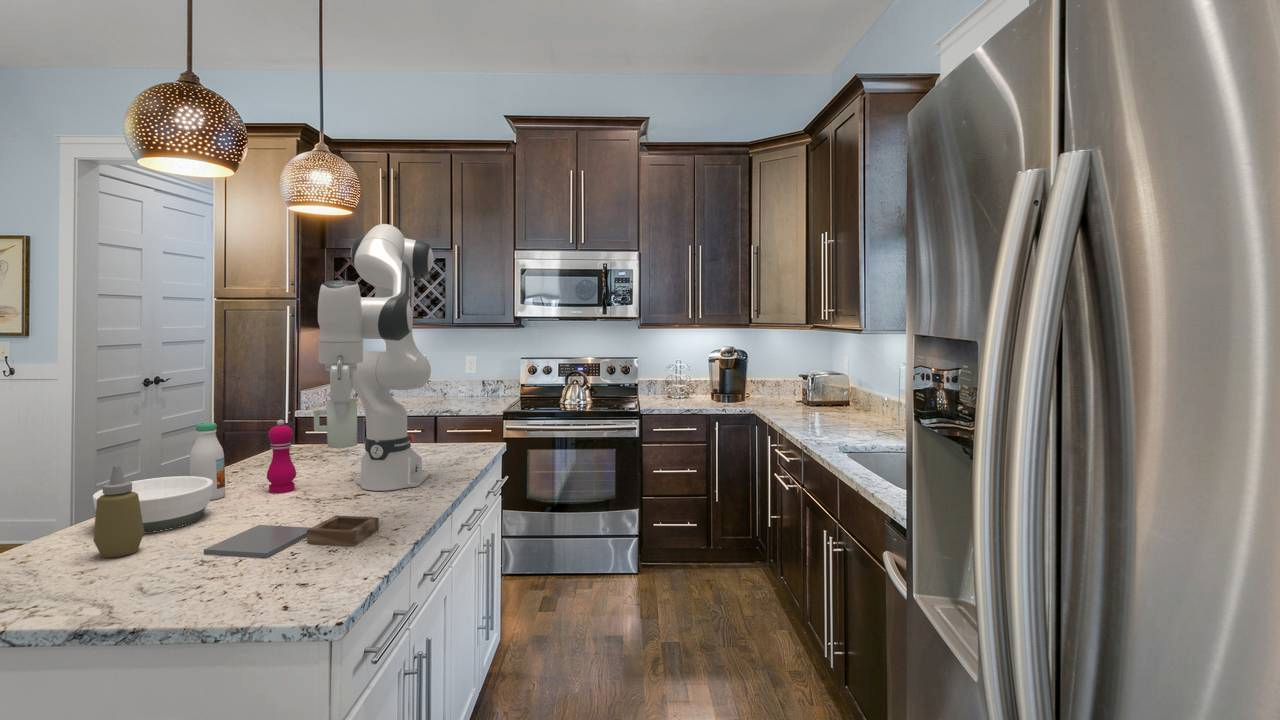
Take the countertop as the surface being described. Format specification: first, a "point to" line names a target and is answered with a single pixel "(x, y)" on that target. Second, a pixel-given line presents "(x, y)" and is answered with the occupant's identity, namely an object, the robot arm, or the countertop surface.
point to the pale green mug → (339, 425)
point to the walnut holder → (343, 530)
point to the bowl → (170, 500)
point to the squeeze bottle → (118, 518)
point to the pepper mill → (281, 460)
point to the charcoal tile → (259, 541)
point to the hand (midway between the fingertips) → (342, 417)
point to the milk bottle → (208, 458)
